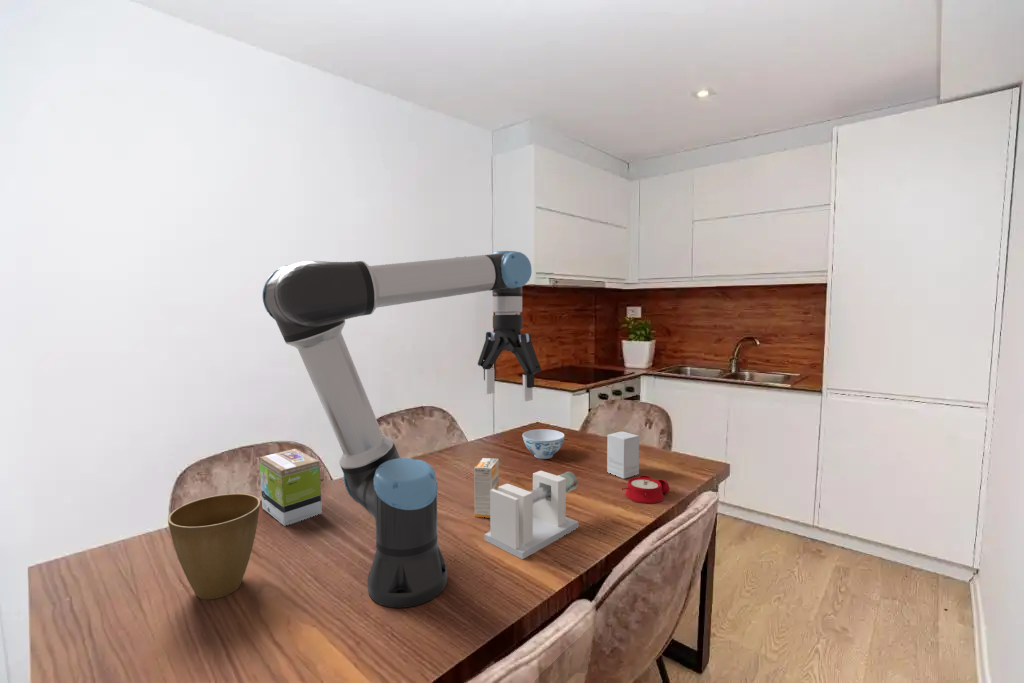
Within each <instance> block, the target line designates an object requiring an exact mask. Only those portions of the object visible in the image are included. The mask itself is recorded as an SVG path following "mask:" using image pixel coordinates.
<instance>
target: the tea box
mask: <svg viewBox="0 0 1024 683" xmlns="http://www.w3.org/2000/svg"><path fill="white" fill-rule="evenodd" d="M320 463H321V462H320V460H318V459H316V458H314V457H312V456H311V455H308V454H306V453H305V452H303V451H301V450H300V449H297V448H293V449H288V450H284V451H281V452H280V451H279V452H276V453H272V454H267V455H263V456H259V472H260V473H259V474H260V476H259V478H260V490H261V492H260V493H261V506H262V509H263V510H264V511H265V512H266V513H268V514H269V515H270V516H272V517H273V518H274V519H275V520H277V522H278V523H280V524H281V525H283V527H286V525H287V526H289V524H290V525H293V524H296V523H299V522H301V520H302V521H304V519H305V520H308V519H310V517H311V518H313V516H314V517H316V516H319V515H321V514H323V512H322V510H323V508H322V488H321V487H322V486H321V468H320V467H321V466H320V465H321V464H320ZM318 514H319V515H318ZM315 515H316V516H315ZM307 518H308V519H307Z"/></svg>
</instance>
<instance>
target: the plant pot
mask: <svg viewBox="0 0 1024 683" xmlns="http://www.w3.org/2000/svg"><path fill="white" fill-rule="evenodd" d="M260 506H261V501H260V498H259V497H258V496H255V495H253V494H248V493H226V494H225V493H224V494H217V495H212V496H208V497H203V498H199V499H195V500H192V501H190V502H188V503H187V502H186V503H185V504H182V505H180V506H179V507H177V508H176V509H174V510H173V511H172V512H170V514H169V515H168V516H167V522H168V526H169V530H170V535H171V539H172V543H173V546H174V550H175V553H176V556H177V558H178V561H179V563H180V566H181V568H182V571H183V572H184V575H185V577H186V579H187V581H188V583H189V584H190V587H191V588H192V590H193V592H194V594H195V595H196V596H197V597H198V598H199V599H201V600H216V599H219V598H223V597H226V596H228V595H230V594H232V593H233V592H235V591H236V590H238V588H240V586H241V583H242V582H243V579H244V576H245V573H246V570H247V568H248V564H249V562H250V557H251V555H252V550H253V546H254V542H255V539H256V533H257V530H258V522H259V513H260Z"/></svg>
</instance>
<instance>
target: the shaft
mask: <svg viewBox="0 0 1024 683" xmlns="http://www.w3.org/2000/svg"><path fill="white" fill-rule="evenodd" d="M557 476H560V477H563V478H566V494H568V493H569V492H571V491H573V490H575V489H576V488H577V487H578V484H579V483H578V478H577V476H576V474H574V473H573V472H572V471H565V472H564V473H561V474H558V475H557ZM528 491H529V492H532V493H533V504H535V503H537V502H539V501H541V500H543V499H546V498H548V497H550V496H551V486H549V485H547V484H545V485H543V486H541V487H538V488H536V489H534V490H533V489H532V490H528Z"/></svg>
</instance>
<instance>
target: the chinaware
mask: <svg viewBox="0 0 1024 683" xmlns="http://www.w3.org/2000/svg"><path fill="white" fill-rule="evenodd" d="M565 436H566V435H565V434H564V433H563V432H561V431H559V430H555V429H545V428H541V429H537V428H536V429H530V430H527V431H525V432H523V433H522V439H523V442H524V445H525V447H526V449H527V450H529V452H530V453H532V454H533V456H534V457H535V458H537V459H539V460H544V459H545V460H547V459H551V458H553V456H554V455H555V454H556V453H557V452H558V451H560V449H561V448H562V445H563V443H564V440H565Z"/></svg>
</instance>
